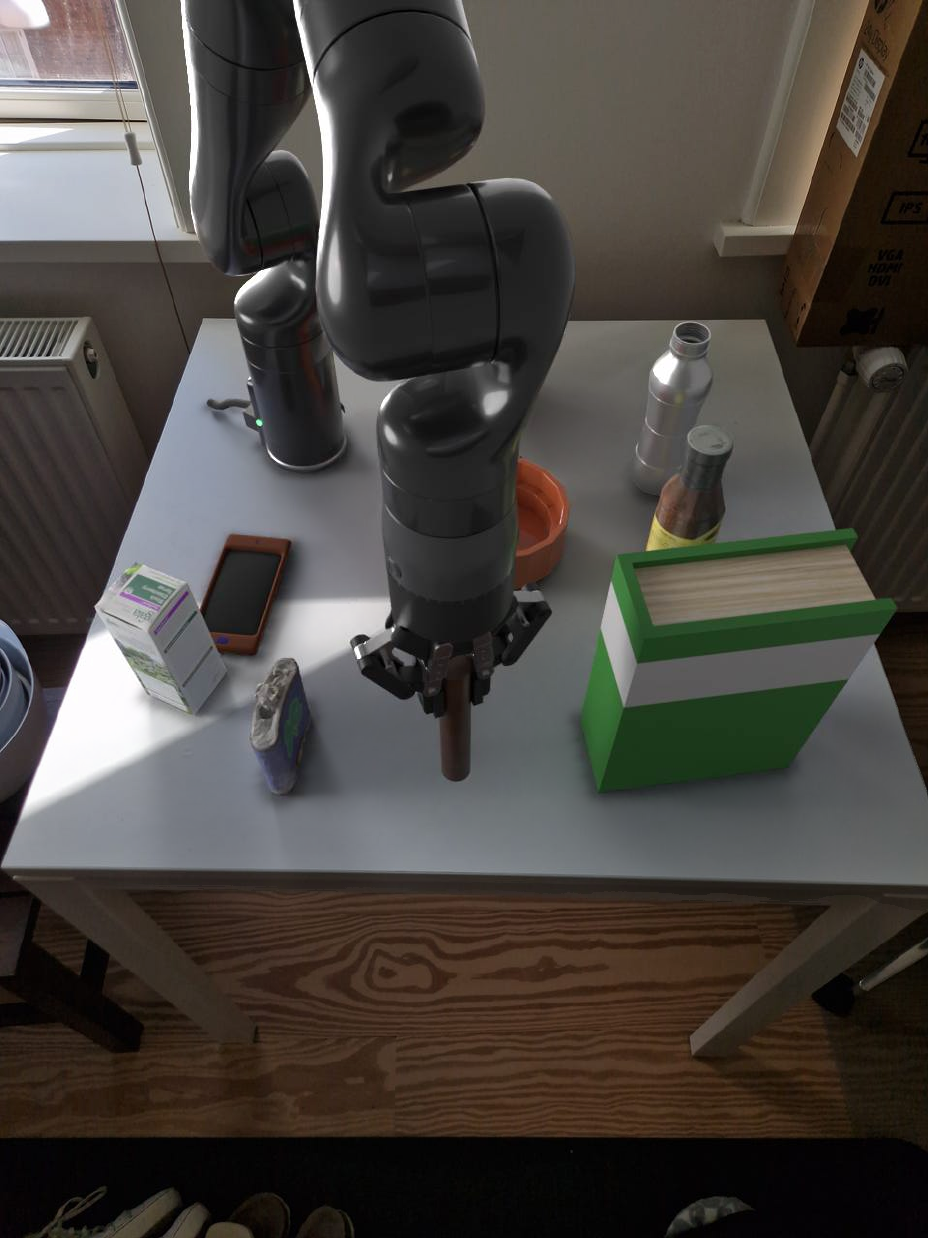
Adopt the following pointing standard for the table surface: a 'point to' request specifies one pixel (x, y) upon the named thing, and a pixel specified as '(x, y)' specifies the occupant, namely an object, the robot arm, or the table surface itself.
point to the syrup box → (162, 636)
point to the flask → (280, 725)
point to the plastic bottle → (672, 407)
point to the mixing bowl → (539, 522)
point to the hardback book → (724, 656)
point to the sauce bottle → (693, 493)
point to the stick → (456, 720)
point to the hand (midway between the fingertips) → (453, 700)
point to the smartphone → (243, 591)
